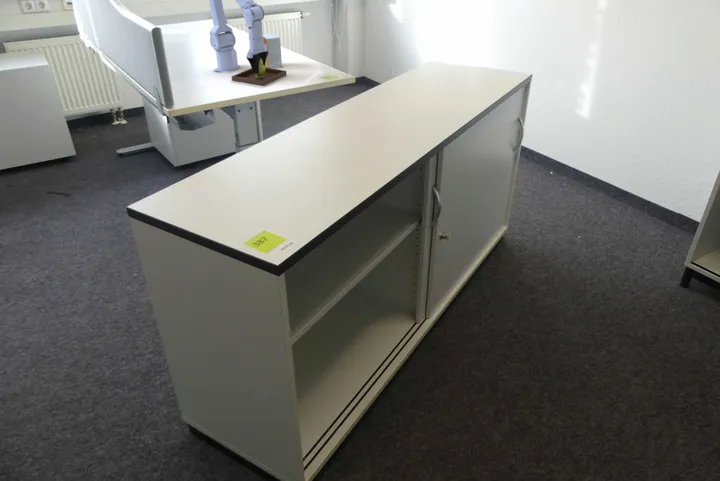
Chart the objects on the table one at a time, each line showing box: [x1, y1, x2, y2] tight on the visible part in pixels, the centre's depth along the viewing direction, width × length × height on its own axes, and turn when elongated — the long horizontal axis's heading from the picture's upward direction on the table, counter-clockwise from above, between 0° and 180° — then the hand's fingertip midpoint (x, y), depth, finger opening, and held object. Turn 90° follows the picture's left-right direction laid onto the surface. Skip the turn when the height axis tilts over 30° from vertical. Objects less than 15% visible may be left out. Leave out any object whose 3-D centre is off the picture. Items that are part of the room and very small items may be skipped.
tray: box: [231, 66, 288, 87], centre depth 234 cm, size 18×16×2 cm
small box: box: [263, 33, 283, 69], centre depth 248 cm, size 8×6×13 cm
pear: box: [254, 54, 266, 77], centre depth 231 cm, size 5×5×9 cm
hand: (259, 71), depth 233 cm, fingers closed on pear, 5 cm apart
